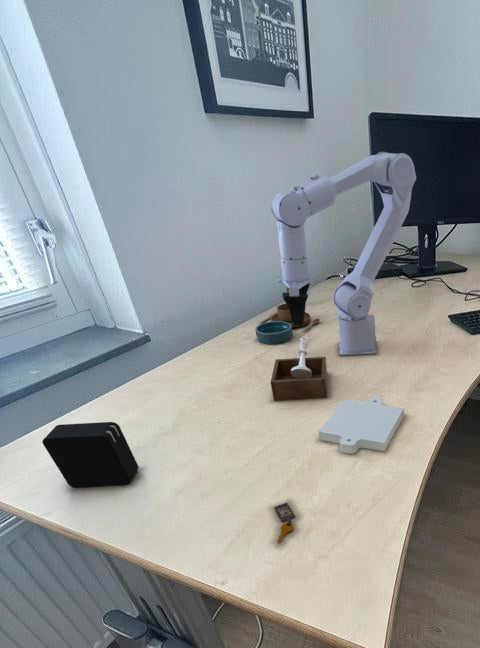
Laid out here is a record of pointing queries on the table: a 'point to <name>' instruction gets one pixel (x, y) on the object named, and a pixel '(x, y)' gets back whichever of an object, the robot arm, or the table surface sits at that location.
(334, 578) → the table surface
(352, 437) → the mounting plate
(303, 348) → the chess piece
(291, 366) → the box
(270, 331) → the bowl
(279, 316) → the place setting
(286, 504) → the key tag
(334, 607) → the table surface
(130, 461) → the electronic device
